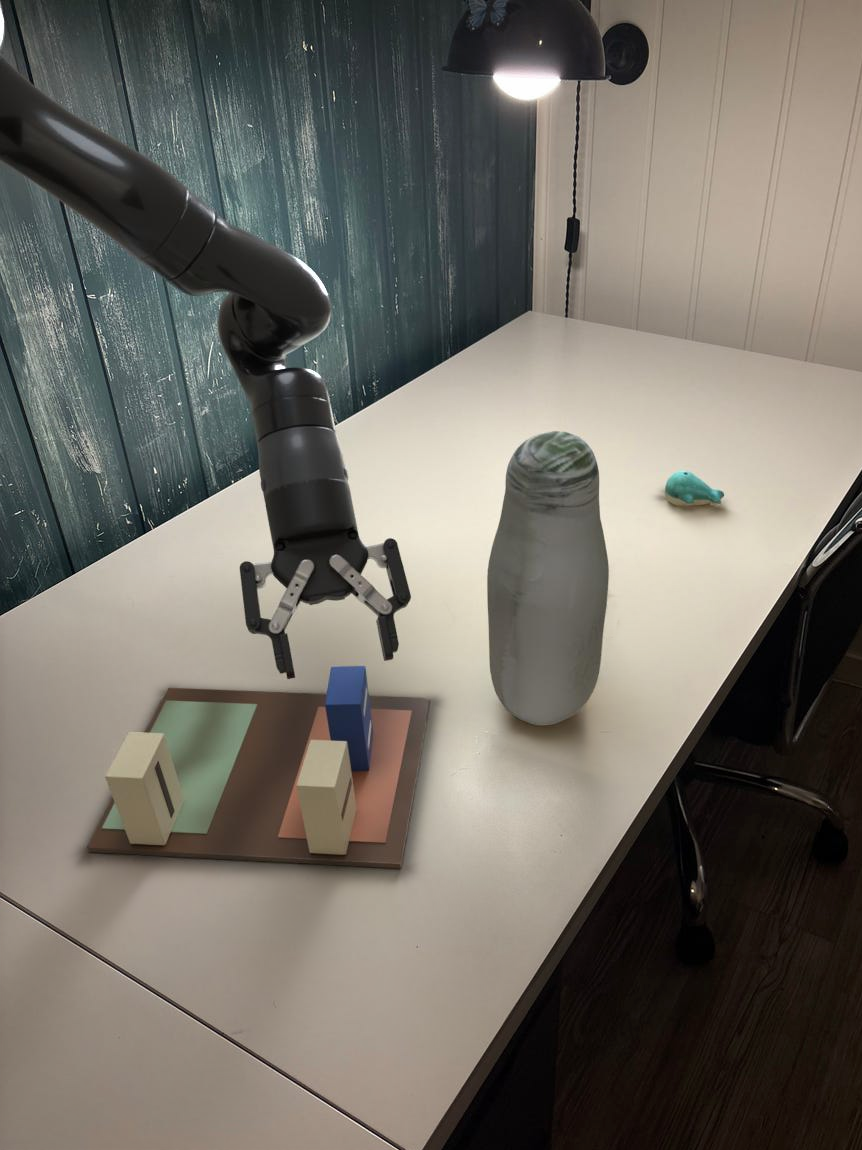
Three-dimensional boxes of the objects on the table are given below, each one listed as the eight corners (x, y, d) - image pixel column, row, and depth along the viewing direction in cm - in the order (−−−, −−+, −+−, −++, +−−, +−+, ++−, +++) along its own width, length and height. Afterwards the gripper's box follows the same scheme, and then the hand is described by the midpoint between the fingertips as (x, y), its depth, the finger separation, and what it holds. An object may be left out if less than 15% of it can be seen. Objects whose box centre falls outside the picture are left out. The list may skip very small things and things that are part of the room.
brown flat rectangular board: (88, 852, 78) (86, 846, 78) (169, 692, 94) (168, 686, 93) (400, 868, 76) (400, 863, 76) (430, 702, 92) (429, 697, 92)
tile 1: (129, 844, 78) (103, 776, 73) (150, 798, 82) (127, 731, 77) (166, 846, 78) (142, 778, 73) (185, 800, 82) (164, 732, 77)
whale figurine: (671, 485, 124) (674, 459, 122) (726, 496, 122) (731, 470, 120) (658, 506, 120) (661, 479, 118) (715, 518, 118) (719, 491, 115)
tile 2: (308, 853, 77) (295, 785, 72) (321, 806, 81) (309, 739, 76) (346, 855, 77) (335, 787, 72) (357, 808, 80) (347, 740, 76)
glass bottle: (570, 757, 86) (586, 482, 68) (472, 720, 90) (464, 452, 72) (613, 693, 93) (637, 428, 75) (519, 662, 97) (522, 403, 79)
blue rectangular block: (334, 771, 84) (324, 704, 79) (340, 732, 88) (330, 666, 83) (369, 770, 84) (361, 703, 79) (373, 731, 88) (365, 665, 83)
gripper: (382, 490, 89) (415, 659, 87) (228, 512, 86) (259, 687, 84) (389, 464, 81) (425, 648, 80) (220, 488, 79) (254, 679, 77)
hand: (340, 668), depth 82 cm, fingers open, 8 cm apart
